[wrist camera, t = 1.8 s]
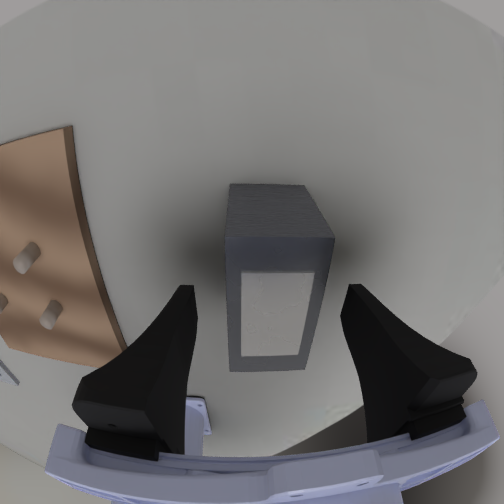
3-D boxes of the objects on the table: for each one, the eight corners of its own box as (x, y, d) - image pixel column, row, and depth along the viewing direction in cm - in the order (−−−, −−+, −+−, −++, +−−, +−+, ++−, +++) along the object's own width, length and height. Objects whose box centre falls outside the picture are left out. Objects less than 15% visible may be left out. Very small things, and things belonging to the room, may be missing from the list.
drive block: (290, 298, 20) (304, 370, 14) (231, 298, 19) (229, 373, 14) (303, 184, 16) (336, 238, 10) (230, 183, 15) (224, 237, 10)
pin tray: (133, 363, 23) (126, 390, 21) (12, 341, 22) (1, 360, 20) (72, 125, 13) (42, 136, 10) (-57, 167, 12) (-79, 181, 9)
